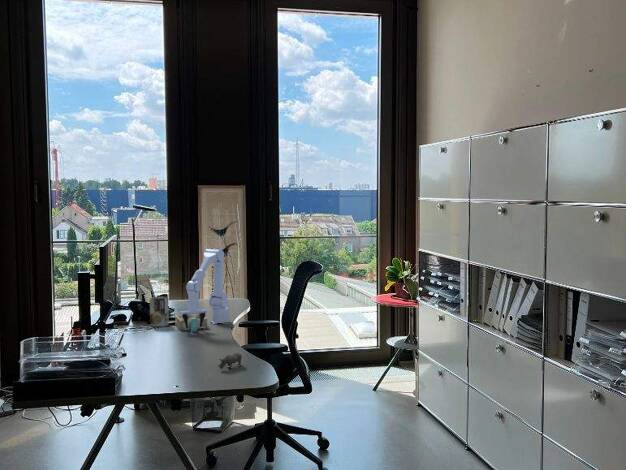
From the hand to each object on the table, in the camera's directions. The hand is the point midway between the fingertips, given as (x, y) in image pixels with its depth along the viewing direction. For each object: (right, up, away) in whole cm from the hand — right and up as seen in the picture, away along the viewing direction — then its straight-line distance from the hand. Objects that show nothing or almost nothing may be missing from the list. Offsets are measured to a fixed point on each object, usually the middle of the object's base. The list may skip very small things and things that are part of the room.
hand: (193, 327), depth 321 cm
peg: (0, -2, 0) cm, 2 cm away
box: (-4, -1, +12) cm, 12 cm away
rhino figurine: (+29, -8, -67) cm, 73 cm away
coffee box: (-23, -1, +14) cm, 27 cm away
